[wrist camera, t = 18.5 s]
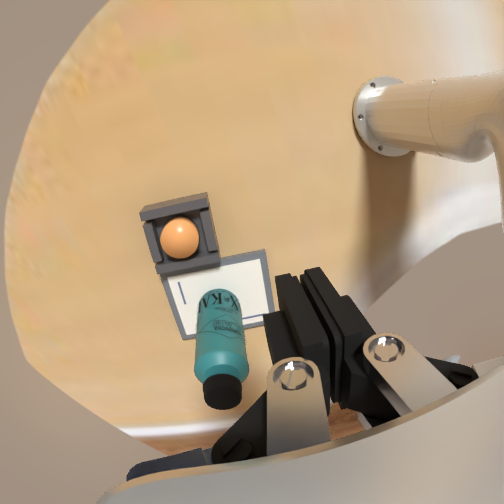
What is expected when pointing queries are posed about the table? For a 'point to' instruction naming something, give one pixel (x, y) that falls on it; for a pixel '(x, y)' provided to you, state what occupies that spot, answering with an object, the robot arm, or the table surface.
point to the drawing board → (221, 277)
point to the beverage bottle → (220, 349)
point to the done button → (180, 237)
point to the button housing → (186, 207)
